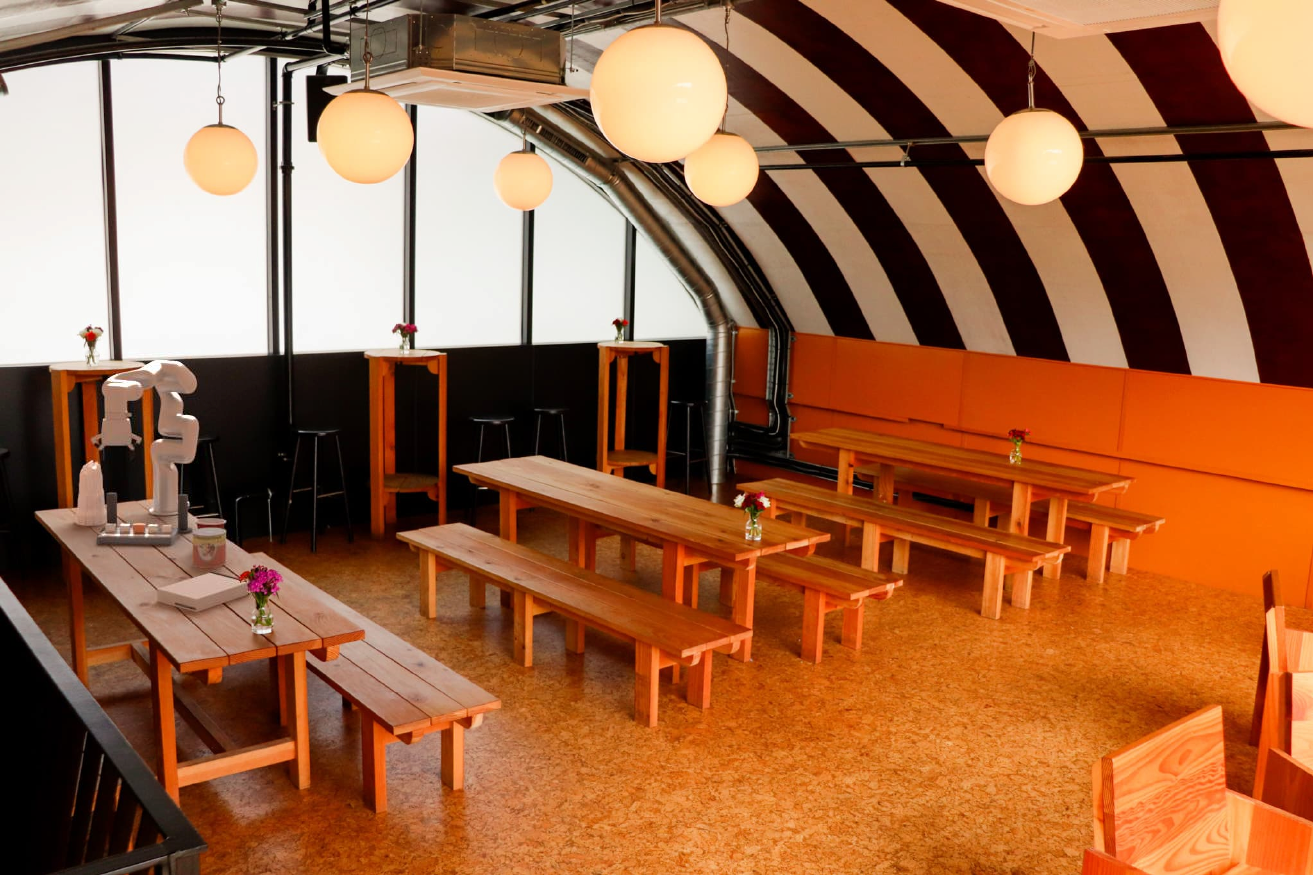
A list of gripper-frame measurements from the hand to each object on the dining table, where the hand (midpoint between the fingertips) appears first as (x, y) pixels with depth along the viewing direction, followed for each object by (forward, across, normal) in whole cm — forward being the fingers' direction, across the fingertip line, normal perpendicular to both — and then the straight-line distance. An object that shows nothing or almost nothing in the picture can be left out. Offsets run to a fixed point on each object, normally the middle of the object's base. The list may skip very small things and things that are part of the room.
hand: (117, 459), depth 400 cm
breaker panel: (+30, -8, +8) cm, 32 cm away
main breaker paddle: (+27, -8, +8) cm, 29 cm away
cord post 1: (+30, +3, -7) cm, 31 cm away
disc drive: (+30, -32, +80) cm, 92 cm away
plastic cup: (+30, -33, +25) cm, 51 cm away
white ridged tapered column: (+31, +12, -21) cm, 39 cm away
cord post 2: (+31, -23, -3) cm, 38 cm away
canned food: (+30, -33, +42) cm, 61 cm away
